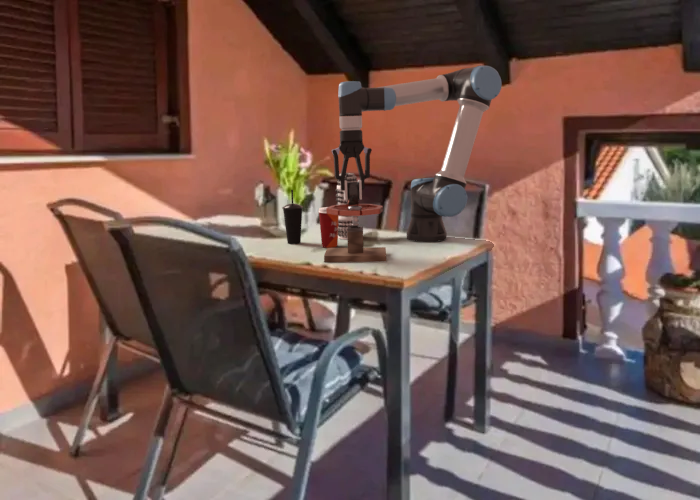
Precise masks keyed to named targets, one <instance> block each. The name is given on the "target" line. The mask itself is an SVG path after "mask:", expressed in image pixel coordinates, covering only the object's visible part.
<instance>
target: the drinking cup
mask: <svg viewBox="0 0 700 500" xmlns="http://www.w3.org/2000/svg"><path fill="white" fill-rule="evenodd" d="M290 194H291V197H290V198H291V199H290V200H291V203H288V204H286V205H283V206H282V207H281V208H282V210H283V217H284V226H285V233H286V241H287V244H289V245H298V244H301V242H302V241H301V239H302V237H301V236H302V223H303V222H302V220H303V209H304V206H303V205H300V204H298V203H294V189H290Z"/></svg>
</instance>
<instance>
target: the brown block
mask: <svg viewBox="0 0 700 500" xmlns="http://www.w3.org/2000/svg"><path fill="white" fill-rule="evenodd" d="M347 235H348V240H347V247H334V248H325V253H324V257H323V262H324V263H351V262H352V263H355V262H356V263H363V262H364V263H365V262H367V263H368V262H370V263H371V262H387V249H386V247H385V246H379V247H376V246H375V247H364V227H363V226H360V225H359V226H358V228H353V227H348V229H347Z"/></svg>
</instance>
